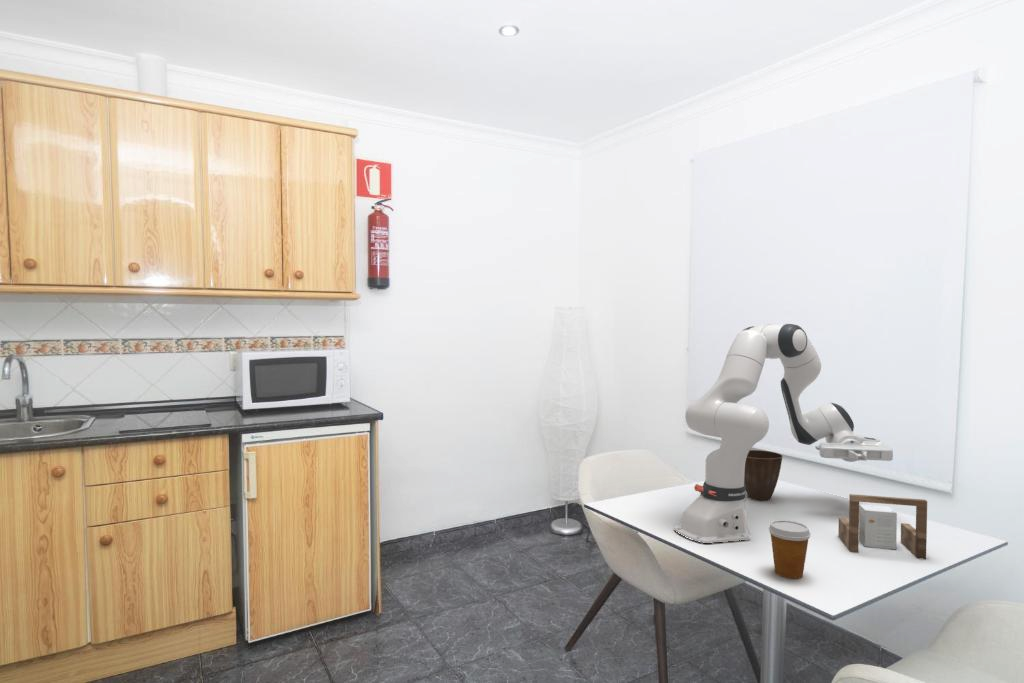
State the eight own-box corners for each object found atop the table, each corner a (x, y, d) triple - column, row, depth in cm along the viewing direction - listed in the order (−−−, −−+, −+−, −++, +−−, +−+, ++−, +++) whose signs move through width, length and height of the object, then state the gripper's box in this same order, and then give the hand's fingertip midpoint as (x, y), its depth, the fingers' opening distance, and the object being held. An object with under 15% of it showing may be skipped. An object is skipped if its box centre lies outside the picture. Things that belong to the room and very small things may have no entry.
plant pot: (729, 497, 208) (729, 453, 208) (748, 489, 218) (748, 447, 218) (770, 507, 197) (771, 460, 197) (788, 498, 207) (789, 454, 207)
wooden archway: (838, 536, 170) (839, 484, 169) (908, 542, 165) (909, 489, 165) (850, 551, 158) (851, 495, 158) (926, 559, 153) (927, 501, 153)
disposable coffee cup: (791, 584, 138) (791, 535, 138) (759, 569, 147) (760, 522, 146) (819, 577, 142) (819, 529, 142) (786, 563, 151) (787, 517, 150)
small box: (889, 542, 165) (890, 506, 165) (896, 550, 160) (897, 512, 159) (858, 539, 167) (858, 503, 167) (864, 546, 162) (864, 509, 162)
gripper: (814, 436, 193) (823, 446, 180) (884, 439, 187) (899, 449, 174) (814, 455, 193) (823, 466, 180) (883, 458, 188) (899, 469, 174)
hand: (861, 457), depth 177 cm, fingers closed
